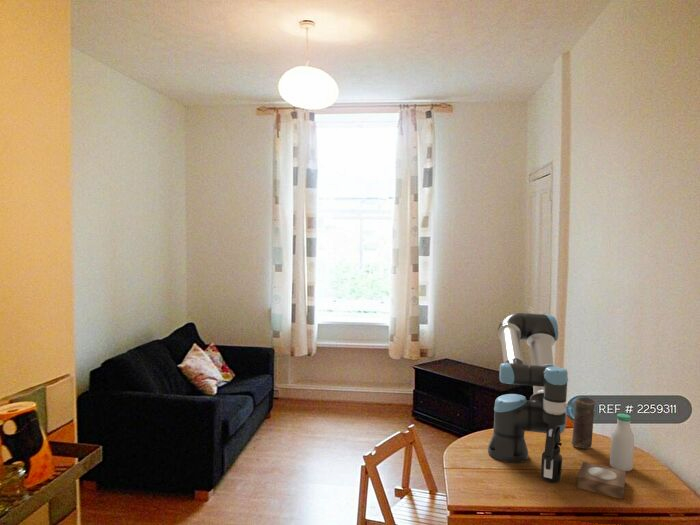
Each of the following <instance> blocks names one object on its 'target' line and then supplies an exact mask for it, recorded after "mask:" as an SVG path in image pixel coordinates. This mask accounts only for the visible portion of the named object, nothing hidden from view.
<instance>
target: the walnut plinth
mask: <svg viewBox="0 0 700 525" xmlns="http://www.w3.org/2000/svg"><path fill="white" fill-rule="evenodd" d="M626 475H627V471H622V470H618V469H615V468H613V467H609V466H604V465H599V464H596V463H590V462H587V461H582V462H581V466H580V470H579V472H578V475H577V488H578V489H579V490H585V491H589V492H593V493H596V494H597V493H598V494H600V495H604V496H609V497H613V498H618V499H621V500H624V494H625V488H626Z"/></svg>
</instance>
